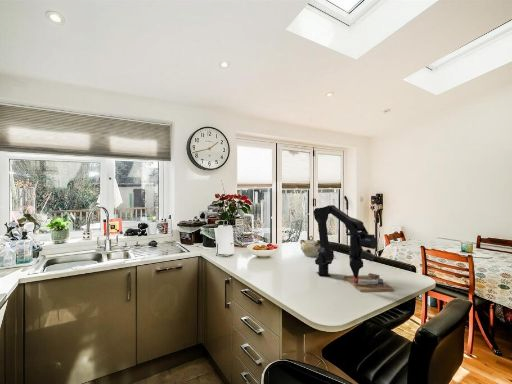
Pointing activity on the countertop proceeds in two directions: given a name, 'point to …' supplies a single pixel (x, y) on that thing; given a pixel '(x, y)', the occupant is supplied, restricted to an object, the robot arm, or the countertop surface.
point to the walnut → (372, 276)
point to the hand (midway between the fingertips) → (355, 275)
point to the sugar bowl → (310, 247)
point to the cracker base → (369, 286)
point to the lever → (367, 281)
